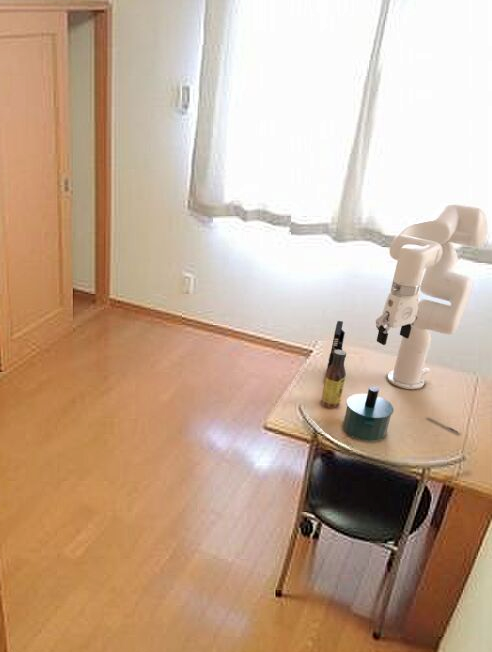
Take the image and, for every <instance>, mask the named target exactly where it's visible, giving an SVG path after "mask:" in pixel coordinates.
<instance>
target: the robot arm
mask: <svg viewBox="0 0 492 652" xmlns="http://www.w3.org/2000/svg"><path fill="white" fill-rule="evenodd" d="M488 229H489V228H488V221H487V217H486V214H485V212H484V211H483V209H482V208H480V207H475V206H470V205H464V204H459V203H450V202H449V203H448V202H447V203H444V204H442V205H440V206H439V207H438V208H437V209H436V210H435V212H434V213H433V214H432V215H431V216H430V218H429V219H427V220H424V221H419V222H416V223H411V224H408V225H406V226H404V227H402V228H401V229H400V230H399V232H398V233H397V234H396V235H395V236H394V237H393V240H392V241H391V243H390V246H389V255H390V257H391V258H392V259H393V260H395V261H396V264H395V265H396V266H395V270H394V274H393V278H392V283H391V288H390V292H389V294H388V295H387V298H386V301H385V304H384V307H383V311H382V315H380V316H379V317H378V318H377V319H375V325H376V326H375V327H376V329H377V331H378V332H377V336H376V342H377V343H379V344H380V345H383V346H385V345H387V340H388V337H389V333H388V332H389V330H390V329H391V328H392V329H397V328H400V330H399V336H401V340H400V344H399V348H398V352H397V356H396V360H395V363H394V368H393V370H392V371H391V370H390V372H388V374H387V380H388V382H390V384H392V385H394V386H395V387H398V388H401V389H406V390H418V389H421V388H423V387H424V385H425V379H424V378H423V376H424V375H426V374H428V373H430V372H431V369H430V368H429V367H425V365H426V361H427V357H428V354H429V350H430V346H431V343H432V336H431V332H430V331H433V332H436V333H440V334H443V335H453V334H454V333H455V332H457V330H458V328H459V326H460V323H461V321H462V318H463V315H464V313H465V310H466V307H467V305H468V302H469V299H470V296H471V295H472V289H473V280H472V278H471V277H469V276H468V275H466V274H461V273H457V272H454V271H455V268H456V265H457V263H458V261H459V260H458V259H459V257H458V253H457V250H456V248H455V246H454V244H457V245H462V246H465V247H466V246H467V247H473V248H476V247H479V246H481V245H482V244H483V243H484V241H485V240H486V238H487V234H488ZM420 293H421V294H423V295H425V296H427V297H430V298H433V299H434V298H435V299H439V300H442V301H446V302H449V303H450V305H449V304H446V303H445V304H444V303H441V302H438V301H434V300H429V299H425V298H420ZM385 326H386V327H385Z"/></svg>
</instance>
